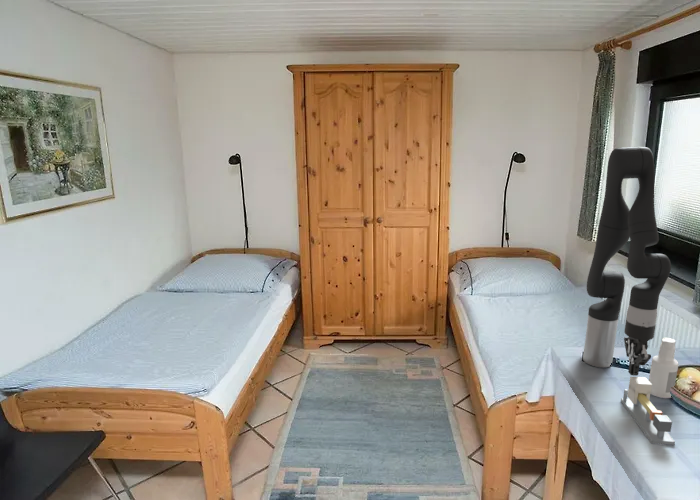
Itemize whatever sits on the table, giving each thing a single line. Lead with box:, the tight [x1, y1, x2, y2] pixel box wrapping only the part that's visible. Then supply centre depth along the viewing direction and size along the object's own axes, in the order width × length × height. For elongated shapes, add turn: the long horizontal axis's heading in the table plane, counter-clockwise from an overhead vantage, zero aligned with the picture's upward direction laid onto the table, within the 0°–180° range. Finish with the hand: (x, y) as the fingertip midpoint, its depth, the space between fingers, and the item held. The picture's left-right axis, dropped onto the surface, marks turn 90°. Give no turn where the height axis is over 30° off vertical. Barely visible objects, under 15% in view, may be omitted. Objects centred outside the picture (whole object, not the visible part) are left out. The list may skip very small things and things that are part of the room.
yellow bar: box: [637, 393, 673, 433], centre depth 136 cm, size 18×3×3 cm, turn 173°
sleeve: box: [627, 376, 652, 404], centre depth 142 cm, size 4×4×6 cm
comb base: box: [620, 388, 676, 446], centre depth 137 cm, size 20×6×4 cm, turn 173°
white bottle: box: [648, 337, 679, 399], centre depth 150 cm, size 7×7×18 cm
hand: (633, 374), depth 146 cm, fingers closed
